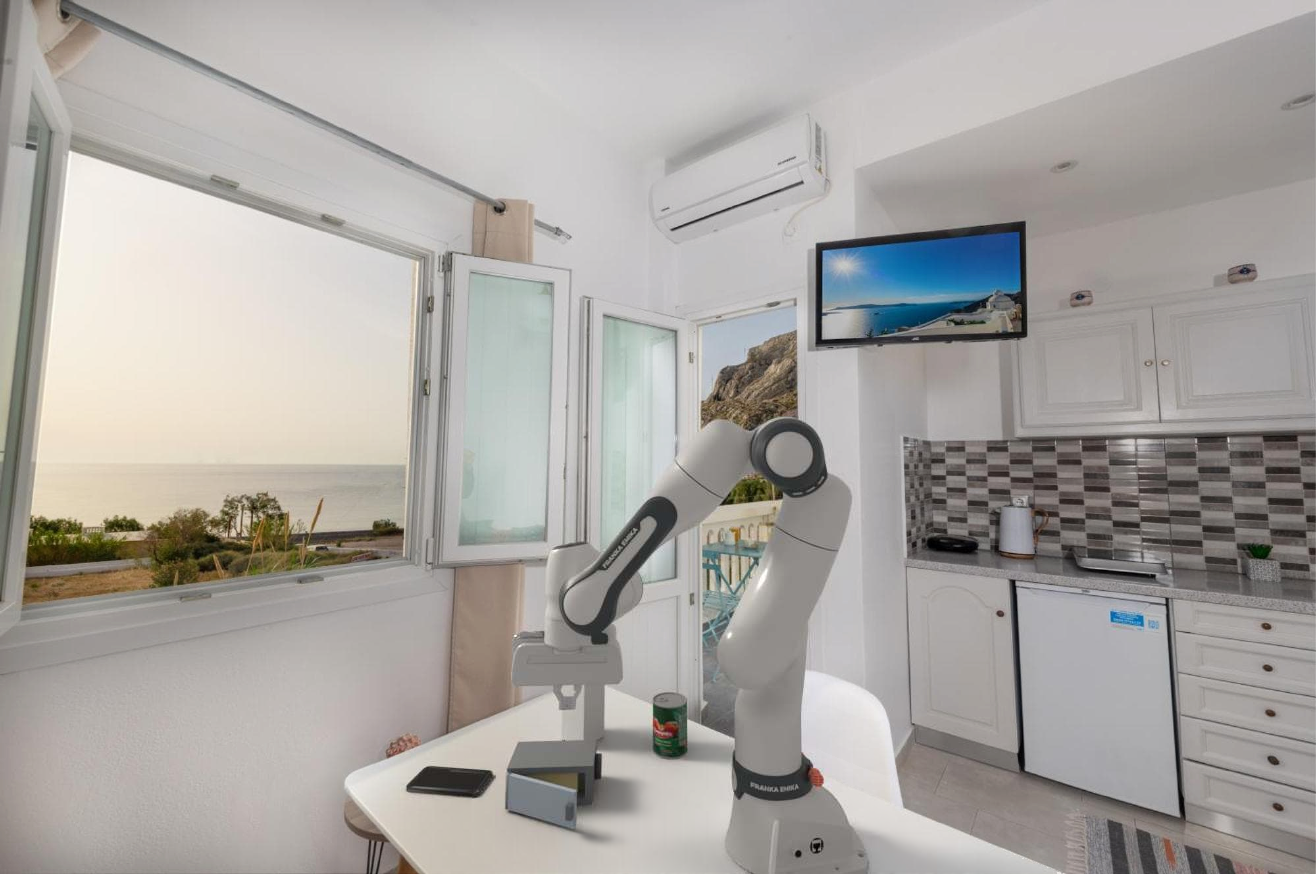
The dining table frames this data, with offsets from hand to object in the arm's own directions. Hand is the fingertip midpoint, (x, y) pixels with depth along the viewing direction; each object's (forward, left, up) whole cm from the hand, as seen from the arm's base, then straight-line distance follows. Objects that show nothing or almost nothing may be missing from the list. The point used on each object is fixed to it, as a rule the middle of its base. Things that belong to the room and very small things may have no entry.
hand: (567, 708), depth 93 cm
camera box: (+3, -8, -19) cm, 21 cm away
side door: (+5, +1, -18) cm, 19 cm away
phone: (+24, -12, -20) cm, 34 cm away
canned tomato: (-21, -22, -19) cm, 36 cm away
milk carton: (-1, -28, -19) cm, 34 cm away
